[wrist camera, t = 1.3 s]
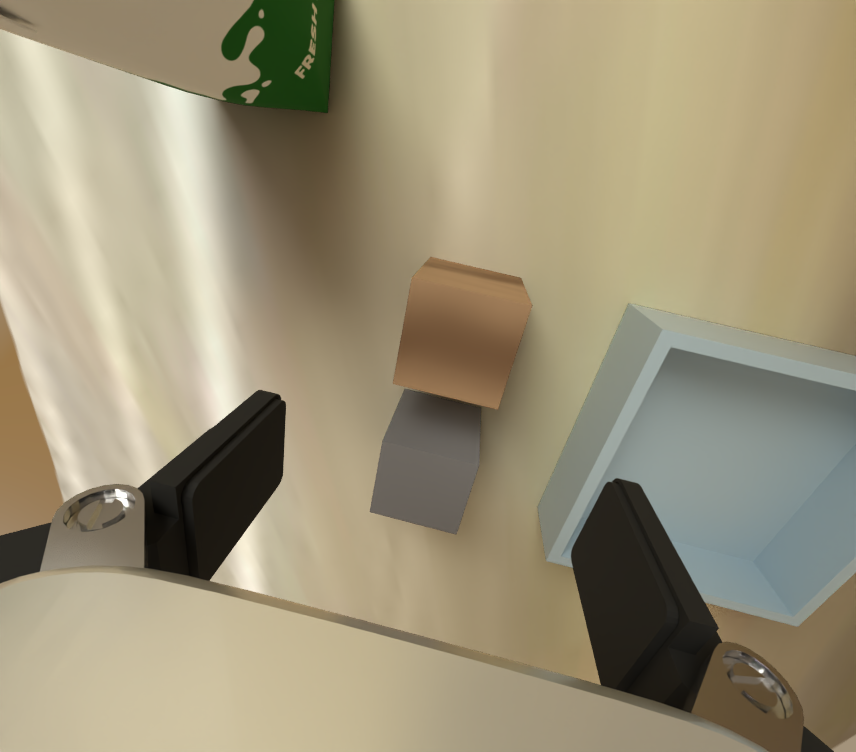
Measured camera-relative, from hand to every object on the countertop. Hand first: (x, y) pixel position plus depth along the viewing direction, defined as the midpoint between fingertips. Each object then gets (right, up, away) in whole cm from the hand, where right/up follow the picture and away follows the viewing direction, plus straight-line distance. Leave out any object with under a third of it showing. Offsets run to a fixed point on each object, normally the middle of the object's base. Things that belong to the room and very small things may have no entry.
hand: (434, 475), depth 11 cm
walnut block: (+2, +7, +15) cm, 17 cm away
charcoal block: (0, -1, +20) cm, 20 cm away
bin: (+20, -2, +17) cm, 26 cm away
